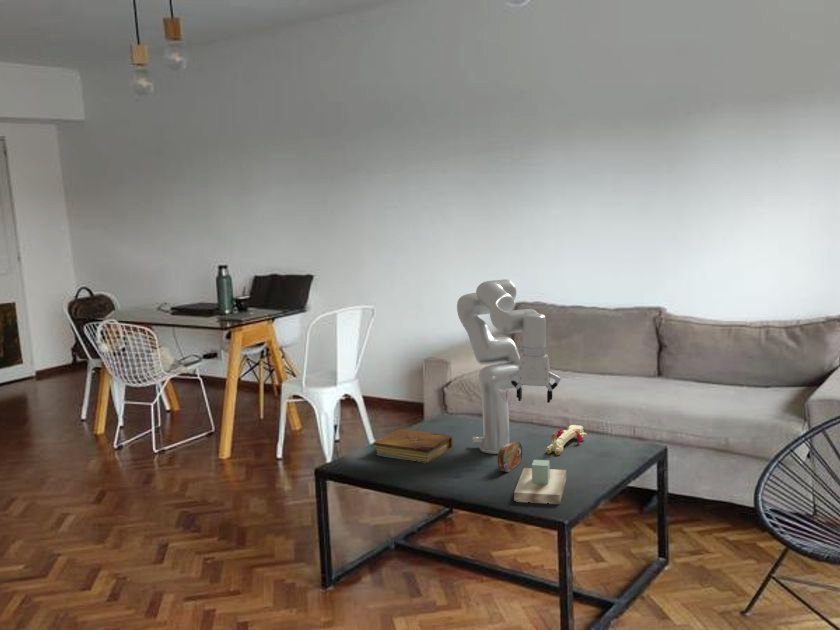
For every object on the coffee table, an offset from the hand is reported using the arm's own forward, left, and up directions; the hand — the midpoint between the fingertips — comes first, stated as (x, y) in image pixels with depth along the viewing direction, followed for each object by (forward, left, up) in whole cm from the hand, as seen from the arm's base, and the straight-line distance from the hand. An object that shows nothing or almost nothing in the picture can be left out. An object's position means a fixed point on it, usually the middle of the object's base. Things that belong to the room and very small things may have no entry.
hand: (534, 400), depth 272 cm
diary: (-48, +16, -26) cm, 56 cm away
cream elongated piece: (+7, +31, -26) cm, 41 cm away
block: (+4, -15, -22) cm, 27 cm away
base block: (+3, -15, -25) cm, 30 cm away
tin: (-10, +4, -26) cm, 27 cm away
